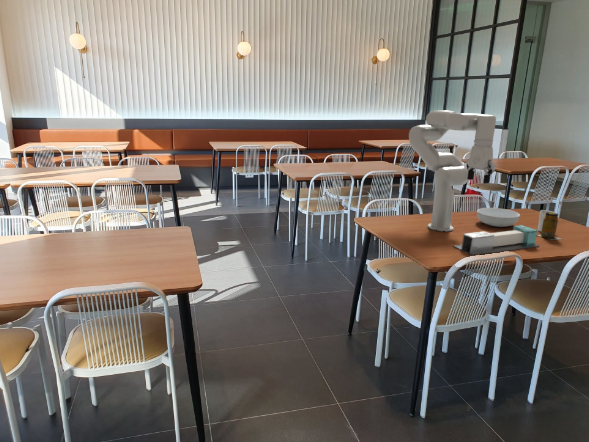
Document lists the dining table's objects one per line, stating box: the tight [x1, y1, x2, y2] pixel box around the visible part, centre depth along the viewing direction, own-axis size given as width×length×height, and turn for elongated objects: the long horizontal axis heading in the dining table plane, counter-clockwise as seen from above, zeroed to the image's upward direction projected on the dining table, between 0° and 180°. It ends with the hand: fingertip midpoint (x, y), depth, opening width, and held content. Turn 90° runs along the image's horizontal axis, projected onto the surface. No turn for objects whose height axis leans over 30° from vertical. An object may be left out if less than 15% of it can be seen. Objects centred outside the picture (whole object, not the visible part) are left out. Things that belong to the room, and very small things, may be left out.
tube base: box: [452, 224, 540, 256], centre depth 197 cm, size 39×12×7 cm, turn 111°
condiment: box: [537, 211, 562, 241], centre depth 212 cm, size 7×8×12 cm
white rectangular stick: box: [489, 230, 525, 247], centre depth 198 cm, size 24×4×5 cm, turn 111°
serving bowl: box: [476, 207, 521, 228], centre depth 232 cm, size 21×21×7 cm
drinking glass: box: [537, 209, 556, 232], centre depth 223 cm, size 7×7×10 cm
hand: (478, 181), depth 198 cm, fingers open, 9 cm apart
